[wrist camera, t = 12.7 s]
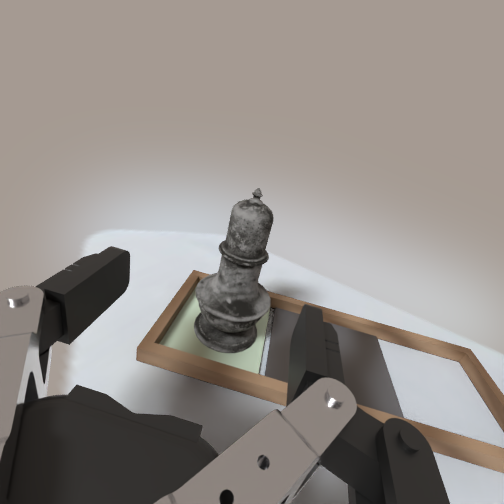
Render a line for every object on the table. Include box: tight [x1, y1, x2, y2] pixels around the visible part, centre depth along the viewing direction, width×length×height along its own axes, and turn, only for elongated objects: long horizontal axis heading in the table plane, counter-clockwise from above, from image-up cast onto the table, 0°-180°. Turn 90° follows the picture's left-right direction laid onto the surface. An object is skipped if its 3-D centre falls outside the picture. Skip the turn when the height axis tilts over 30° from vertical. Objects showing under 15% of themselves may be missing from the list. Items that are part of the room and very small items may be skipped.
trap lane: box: [136, 270, 504, 473], centre depth 23 cm, size 28×11×1 cm, turn 80°
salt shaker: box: [194, 188, 273, 353], centre depth 20 cm, size 6×6×12 cm
